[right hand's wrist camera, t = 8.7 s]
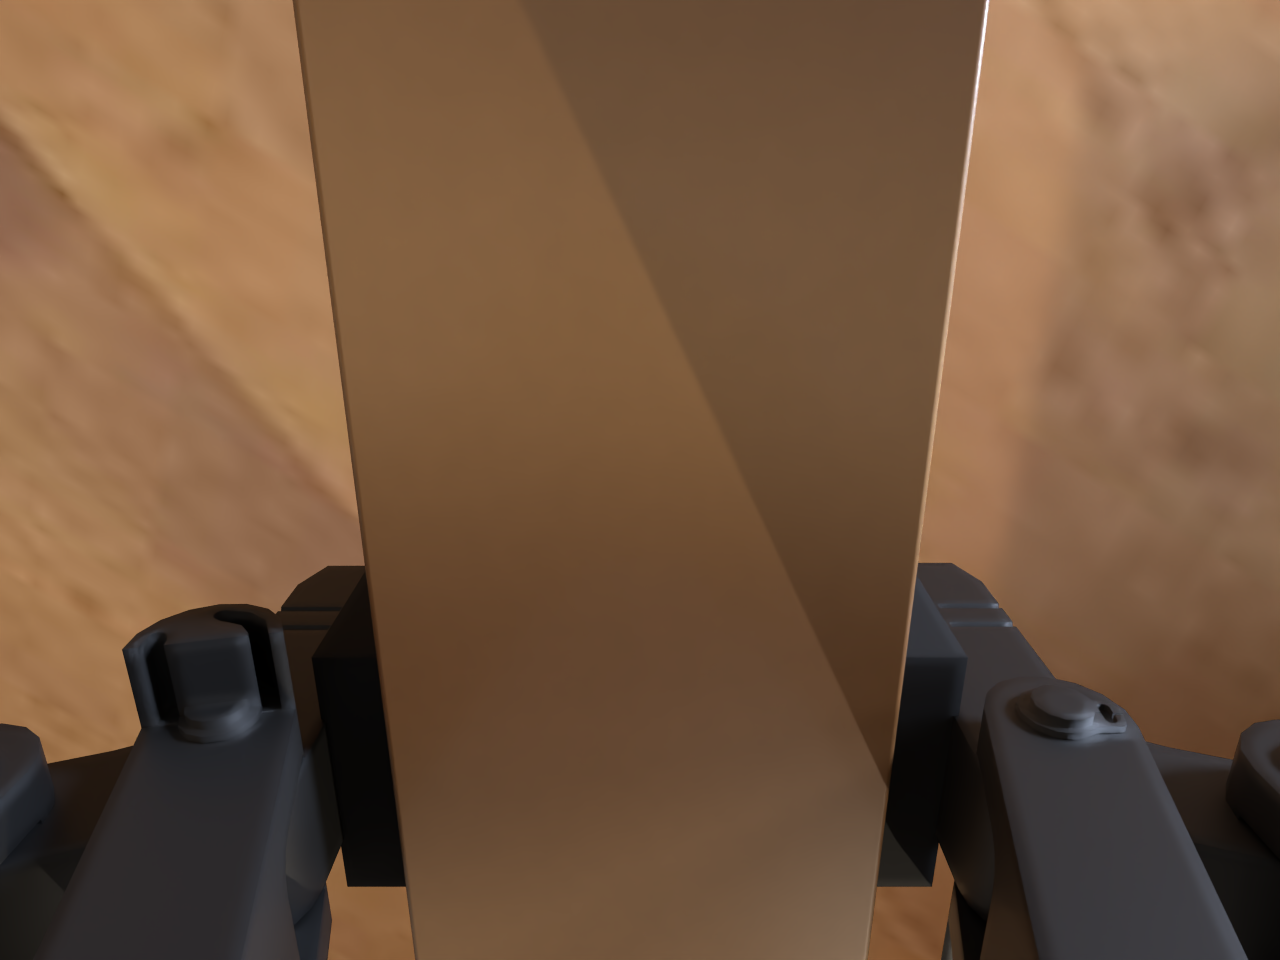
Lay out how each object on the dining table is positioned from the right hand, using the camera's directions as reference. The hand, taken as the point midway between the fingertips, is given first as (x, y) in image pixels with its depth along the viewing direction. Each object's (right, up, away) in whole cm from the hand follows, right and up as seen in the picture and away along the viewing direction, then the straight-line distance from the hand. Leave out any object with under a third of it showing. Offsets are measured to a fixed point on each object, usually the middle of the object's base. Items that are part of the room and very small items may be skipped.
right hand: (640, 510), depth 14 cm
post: (0, +17, -6) cm, 18 cm away
